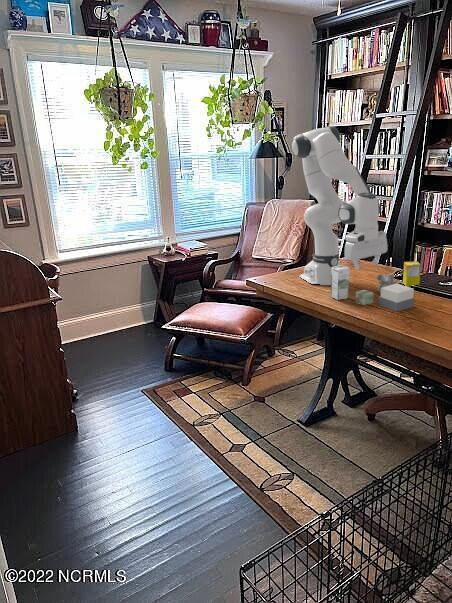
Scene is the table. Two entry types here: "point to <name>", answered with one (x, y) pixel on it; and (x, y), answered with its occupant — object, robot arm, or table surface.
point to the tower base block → (396, 304)
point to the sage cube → (364, 297)
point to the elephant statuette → (385, 280)
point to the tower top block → (397, 292)
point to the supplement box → (411, 273)
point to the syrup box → (340, 282)
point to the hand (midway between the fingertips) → (366, 267)
